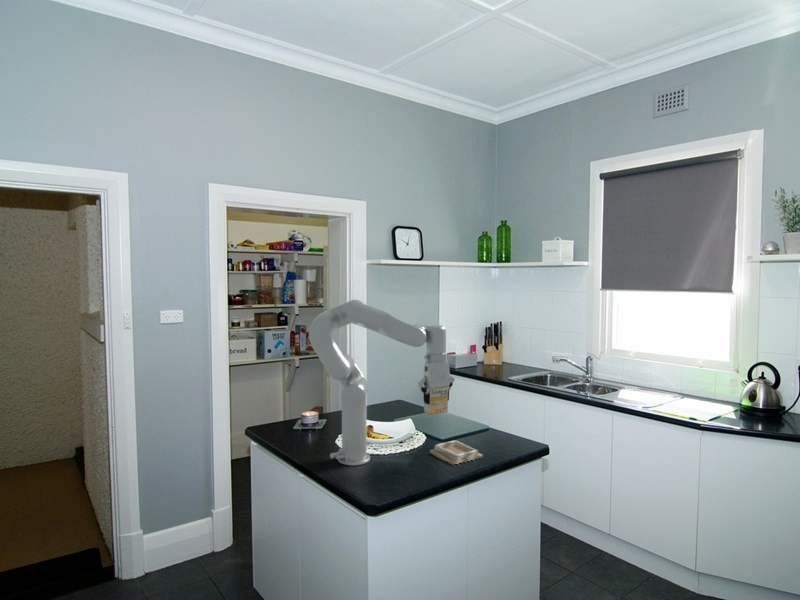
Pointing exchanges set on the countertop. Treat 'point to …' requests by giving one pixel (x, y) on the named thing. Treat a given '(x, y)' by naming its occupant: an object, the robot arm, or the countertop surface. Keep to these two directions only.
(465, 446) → the board
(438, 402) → the supplement box
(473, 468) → the countertop surface
